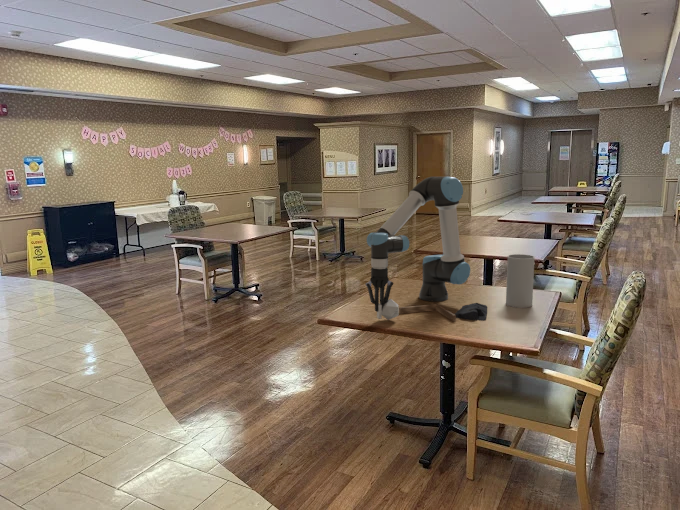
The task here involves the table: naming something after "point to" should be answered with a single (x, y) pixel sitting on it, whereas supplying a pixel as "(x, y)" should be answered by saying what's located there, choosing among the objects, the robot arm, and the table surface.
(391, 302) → the die
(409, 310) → the rest corner
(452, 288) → the table surface
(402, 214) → the robot arm
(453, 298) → the table surface
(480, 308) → the dark slate chunk
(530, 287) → the cylinder vase
